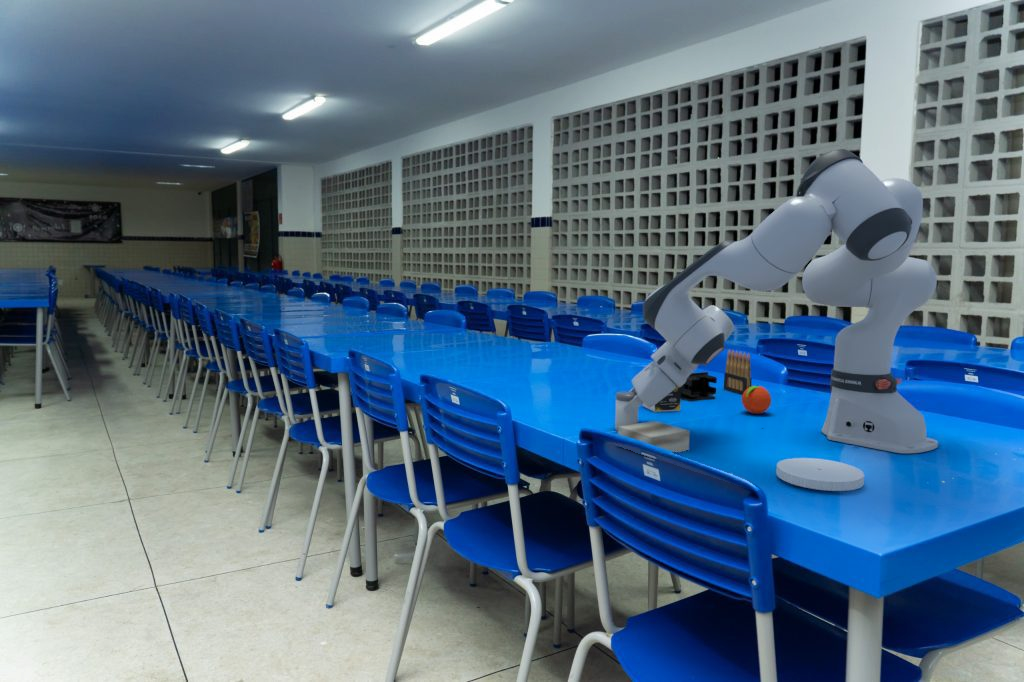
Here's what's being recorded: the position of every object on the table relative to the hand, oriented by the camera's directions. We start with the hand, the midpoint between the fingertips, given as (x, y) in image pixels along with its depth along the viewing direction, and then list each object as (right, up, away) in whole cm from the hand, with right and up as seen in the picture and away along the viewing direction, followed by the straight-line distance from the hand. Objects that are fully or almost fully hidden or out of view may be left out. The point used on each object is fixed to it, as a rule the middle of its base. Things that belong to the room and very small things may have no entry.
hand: (624, 408), depth 162 cm
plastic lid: (+28, -10, -36) cm, 47 cm away
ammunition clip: (+39, 0, +44) cm, 59 cm away
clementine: (+35, -3, +17) cm, 39 cm away
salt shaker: (+1, -5, +1) cm, 5 cm away
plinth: (+3, -7, -15) cm, 17 cm away
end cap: (+25, -1, +37) cm, 44 cm away
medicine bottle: (+13, -2, +22) cm, 26 cm away
